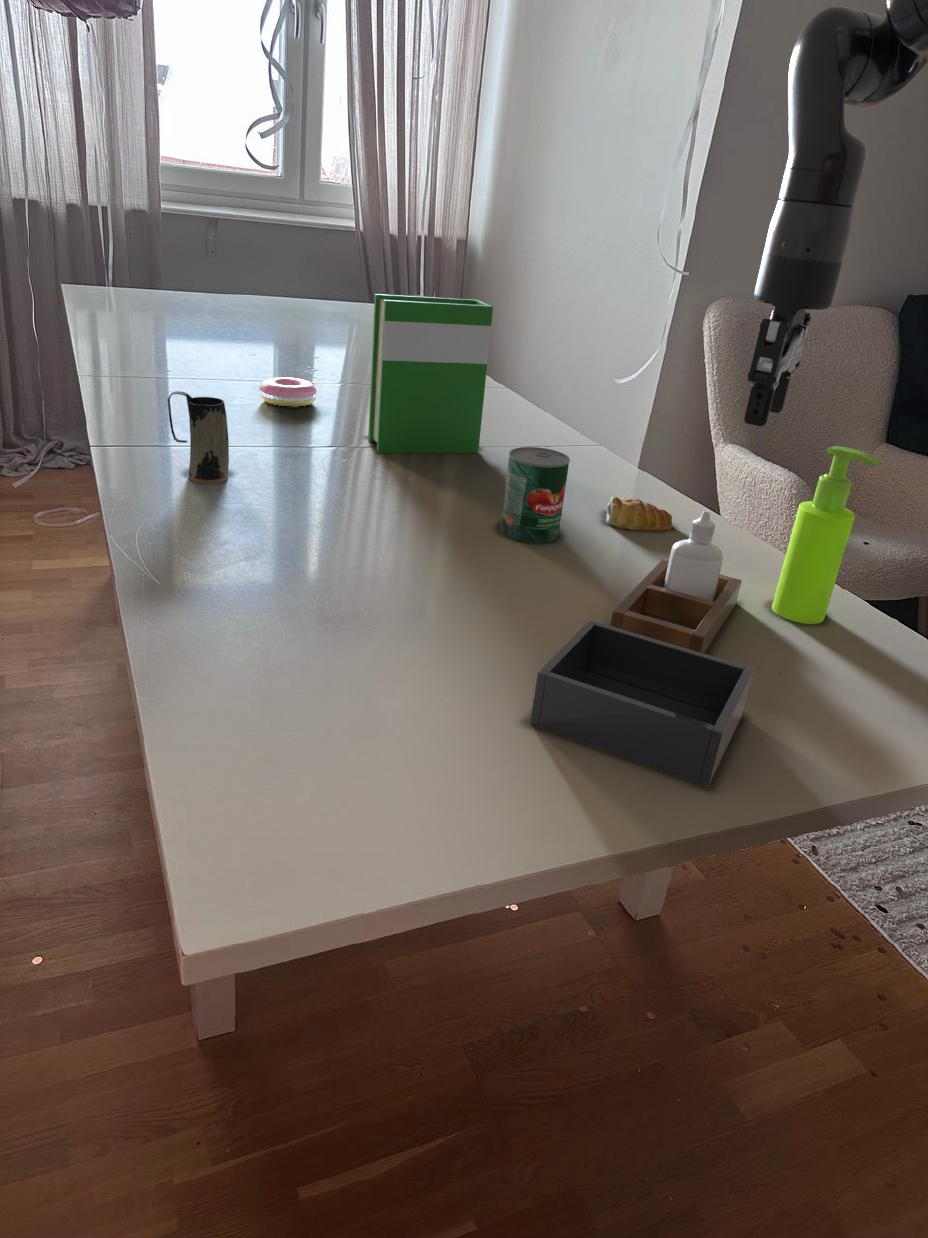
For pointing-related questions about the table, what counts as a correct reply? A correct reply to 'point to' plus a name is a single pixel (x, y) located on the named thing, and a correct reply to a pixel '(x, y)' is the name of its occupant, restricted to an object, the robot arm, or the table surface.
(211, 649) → the table surface
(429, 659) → the table surface
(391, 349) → the hardback book
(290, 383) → the doughnut
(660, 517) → the pastry
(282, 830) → the table surface
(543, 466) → the canned tomato
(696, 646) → the tray
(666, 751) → the dark grey open box
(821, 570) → the soap dispenser
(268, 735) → the table surface
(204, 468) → the mug
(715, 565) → the eye dropper bottle
